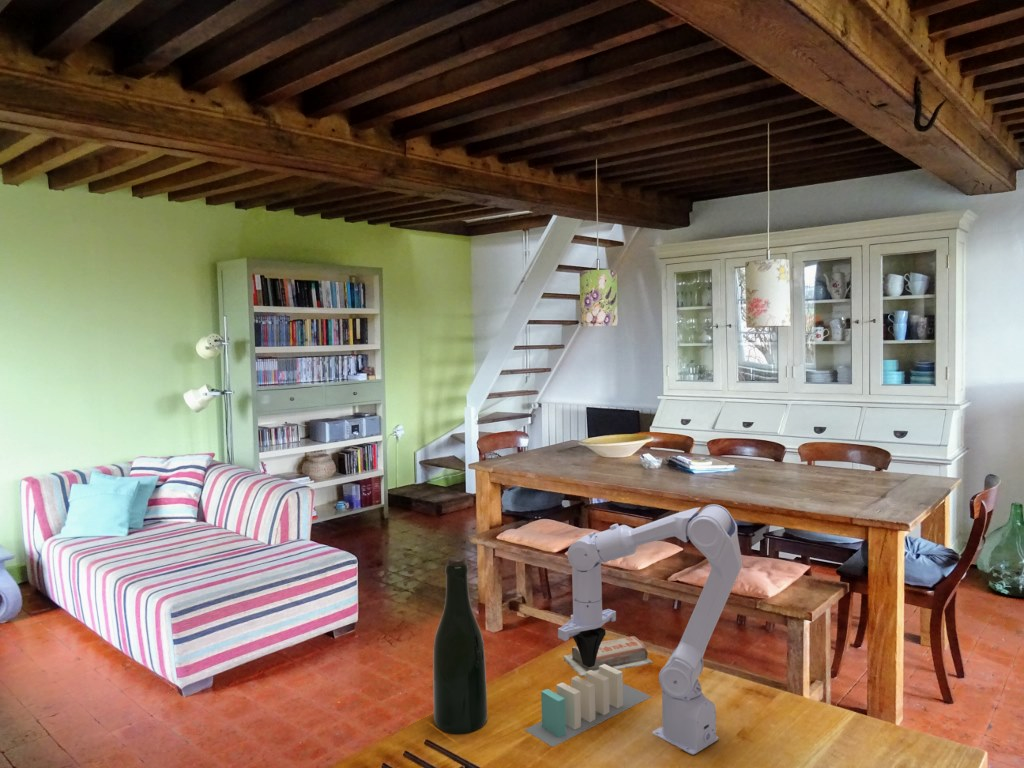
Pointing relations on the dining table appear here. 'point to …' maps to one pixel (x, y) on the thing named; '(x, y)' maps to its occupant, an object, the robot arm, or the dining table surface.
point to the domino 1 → (553, 712)
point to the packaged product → (612, 655)
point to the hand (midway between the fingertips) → (588, 664)
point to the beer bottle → (459, 659)
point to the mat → (629, 700)
